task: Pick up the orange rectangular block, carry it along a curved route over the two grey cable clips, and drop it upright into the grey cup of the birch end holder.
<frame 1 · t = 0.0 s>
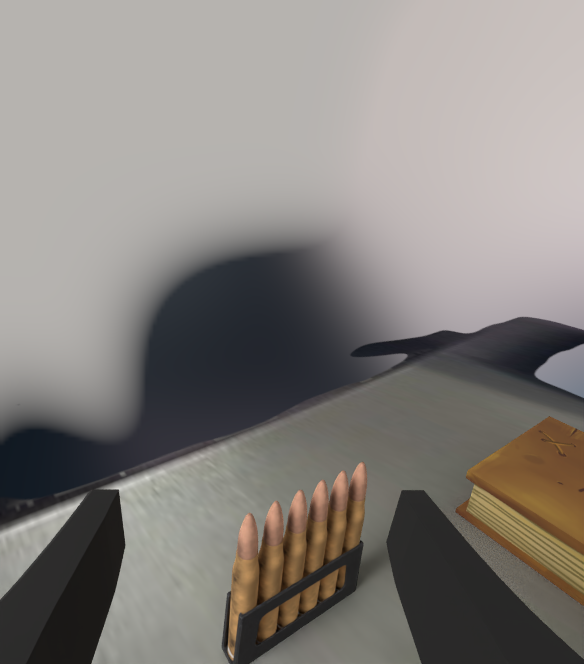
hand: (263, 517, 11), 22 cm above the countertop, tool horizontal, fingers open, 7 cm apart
ammunition clip: (293, 618, 31), on the countertop
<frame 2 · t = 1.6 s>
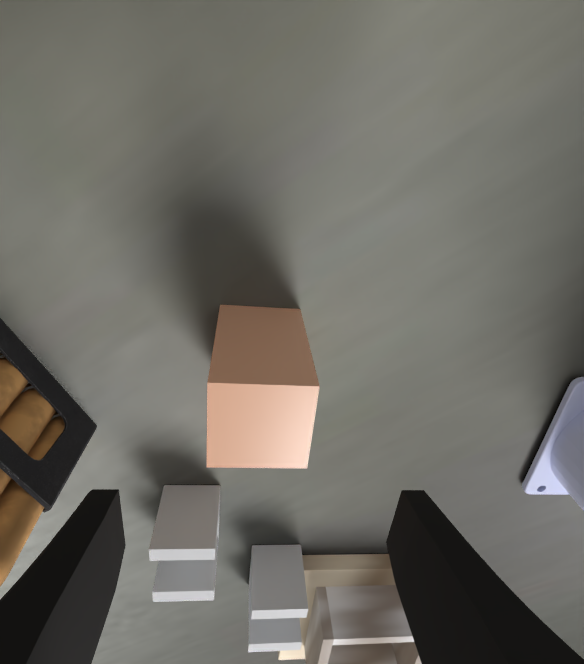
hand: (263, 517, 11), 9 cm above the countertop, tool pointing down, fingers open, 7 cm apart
orange rectangular block: (258, 341, 19), on the countertop
cable clips: (235, 539, 25), on the countertop
end holder: (355, 601, 29), on the countertop
ammunition clip: (6, 348, 19), on the countertop
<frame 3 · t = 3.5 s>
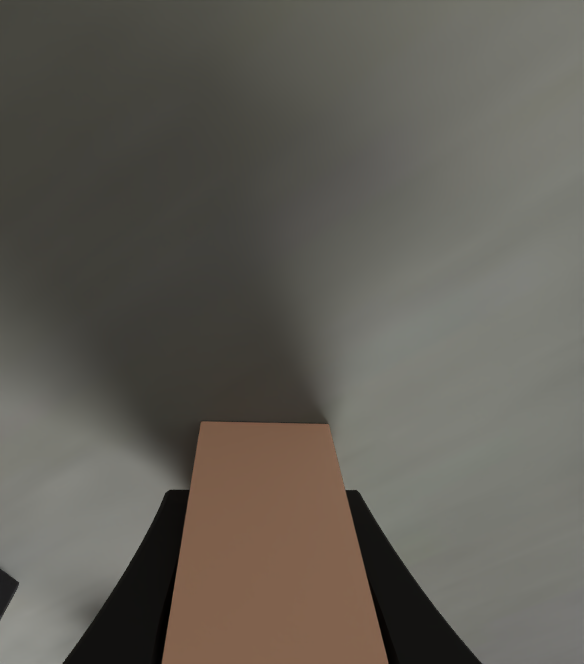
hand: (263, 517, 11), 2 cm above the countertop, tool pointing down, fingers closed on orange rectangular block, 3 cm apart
orange rectangular block: (261, 470, 12), on the countertop, touching gripper
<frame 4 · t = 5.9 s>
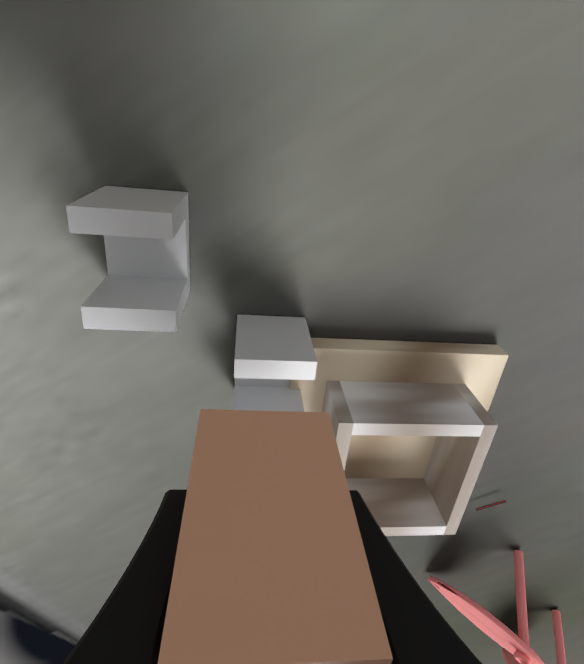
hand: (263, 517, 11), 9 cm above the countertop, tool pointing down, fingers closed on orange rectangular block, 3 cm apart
orange rectangular block: (261, 459, 12), point 8 cm above the countertop, touching gripper
cable clips: (214, 302, 18), on the countertop
figurine: (450, 615, 31), on the countertop
end holder: (378, 425, 22), on the countertop
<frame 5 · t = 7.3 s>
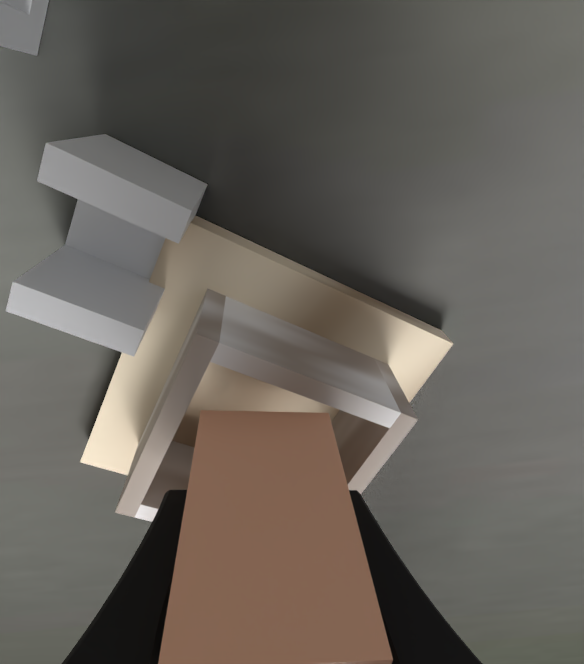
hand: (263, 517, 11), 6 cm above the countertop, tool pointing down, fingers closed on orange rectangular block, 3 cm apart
orange rectangular block: (262, 459, 12), point 4 cm above the countertop, touching gripper
cable clips: (72, 96, 11), on the countertop
end holder: (260, 388, 16), on the countertop
when the fingers open (5 cm above the countertop, at t = 8.3 s): orange rectangular block drops 2 cm, resting on end holder.
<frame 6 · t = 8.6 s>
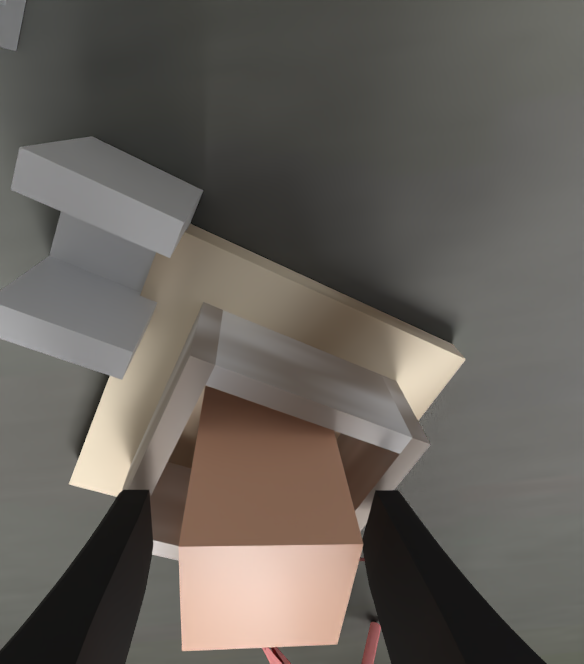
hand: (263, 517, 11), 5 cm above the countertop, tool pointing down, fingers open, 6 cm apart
orange rectangular block: (260, 417, 14), point 1 cm above the countertop, touching end holder
cable clips: (55, 95, 10), on the countertop
end holder: (259, 405, 15), on the countertop
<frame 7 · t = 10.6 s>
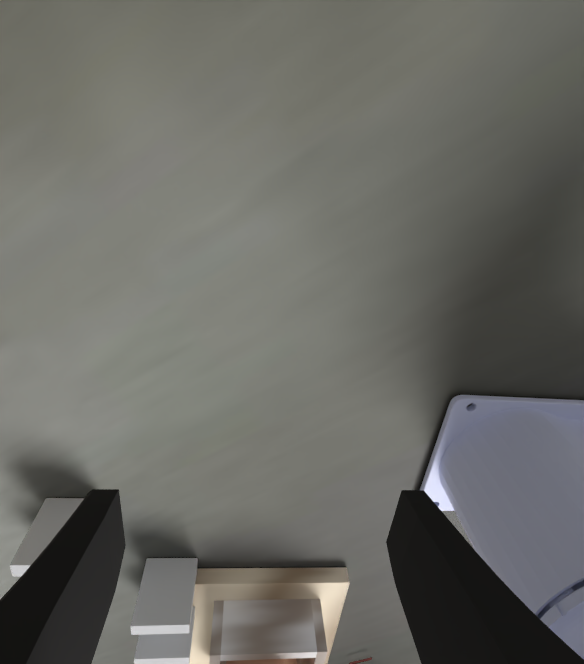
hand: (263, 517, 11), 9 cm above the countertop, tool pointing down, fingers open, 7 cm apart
orange rectangular block: (262, 627, 28), point 1 cm above the countertop, touching end holder
cable clips: (128, 552, 25), on the countertop
end holder: (263, 614, 29), on the countertop
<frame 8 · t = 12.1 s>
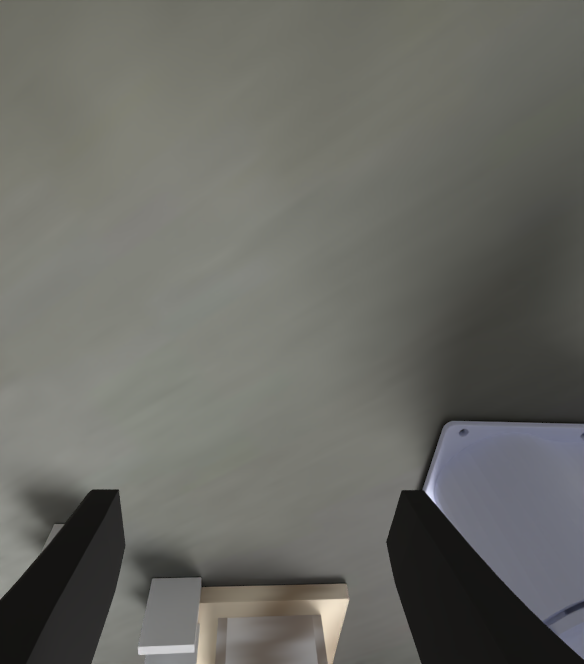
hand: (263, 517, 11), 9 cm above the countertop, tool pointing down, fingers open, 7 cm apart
cable clips: (135, 573, 26), on the countertop
end holder: (266, 629, 30), on the countertop
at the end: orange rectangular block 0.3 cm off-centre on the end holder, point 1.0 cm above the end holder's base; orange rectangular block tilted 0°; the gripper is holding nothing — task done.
